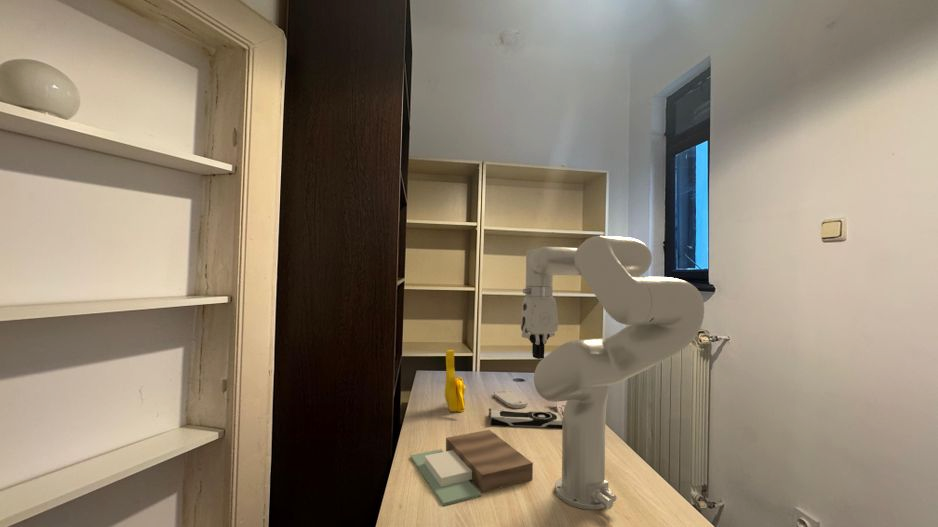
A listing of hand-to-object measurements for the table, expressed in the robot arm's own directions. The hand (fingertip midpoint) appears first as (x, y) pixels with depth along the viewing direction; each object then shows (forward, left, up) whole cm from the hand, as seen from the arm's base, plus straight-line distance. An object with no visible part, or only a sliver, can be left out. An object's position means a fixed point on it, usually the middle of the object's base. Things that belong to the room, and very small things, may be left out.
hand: (538, 357), depth 108 cm
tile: (+1, +27, -26) cm, 38 cm away
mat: (+1, +28, -27) cm, 39 cm away
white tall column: (+20, -27, -28) cm, 44 cm away
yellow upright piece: (+42, +7, -27) cm, 51 cm away
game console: (+42, -18, -28) cm, 54 cm away
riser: (+1, +16, -27) cm, 31 cm away
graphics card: (+21, -10, -28) cm, 37 cm away
